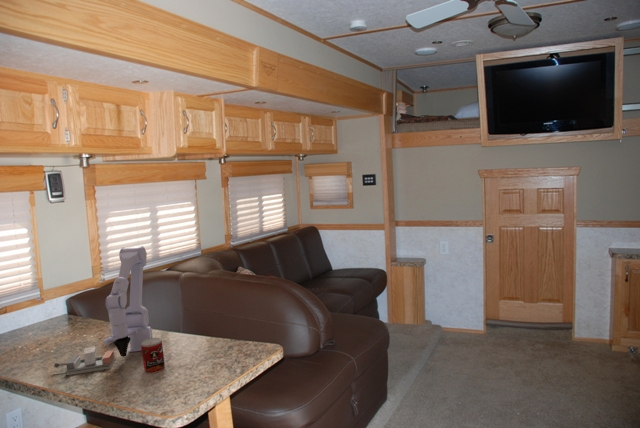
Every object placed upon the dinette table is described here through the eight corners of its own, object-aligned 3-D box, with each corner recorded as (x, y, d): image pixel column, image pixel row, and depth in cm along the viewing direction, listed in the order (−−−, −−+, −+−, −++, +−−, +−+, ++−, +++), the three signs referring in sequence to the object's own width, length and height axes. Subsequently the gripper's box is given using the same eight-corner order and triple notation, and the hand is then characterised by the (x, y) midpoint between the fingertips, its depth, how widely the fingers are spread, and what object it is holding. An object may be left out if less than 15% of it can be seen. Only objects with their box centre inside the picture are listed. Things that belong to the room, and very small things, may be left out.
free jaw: (114, 357, 207) (113, 350, 206) (110, 364, 199) (109, 357, 199) (106, 358, 206) (105, 351, 206) (102, 365, 199) (101, 358, 198)
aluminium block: (97, 360, 206) (95, 346, 205) (96, 366, 199) (94, 351, 199) (86, 362, 204) (84, 348, 204) (85, 368, 198) (83, 353, 197)
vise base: (115, 358, 208) (114, 349, 208) (109, 368, 198) (108, 358, 198) (59, 367, 204) (58, 357, 204) (50, 377, 194) (49, 367, 194)
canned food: (146, 374, 189) (142, 346, 188) (142, 367, 196) (139, 340, 195) (166, 369, 193) (163, 341, 191) (163, 362, 200) (159, 336, 198)
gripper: (128, 316, 210) (132, 347, 212) (96, 328, 198) (101, 361, 200) (139, 318, 206) (143, 350, 208) (107, 330, 194) (112, 364, 196)
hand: (123, 355), depth 204 cm, fingers closed
